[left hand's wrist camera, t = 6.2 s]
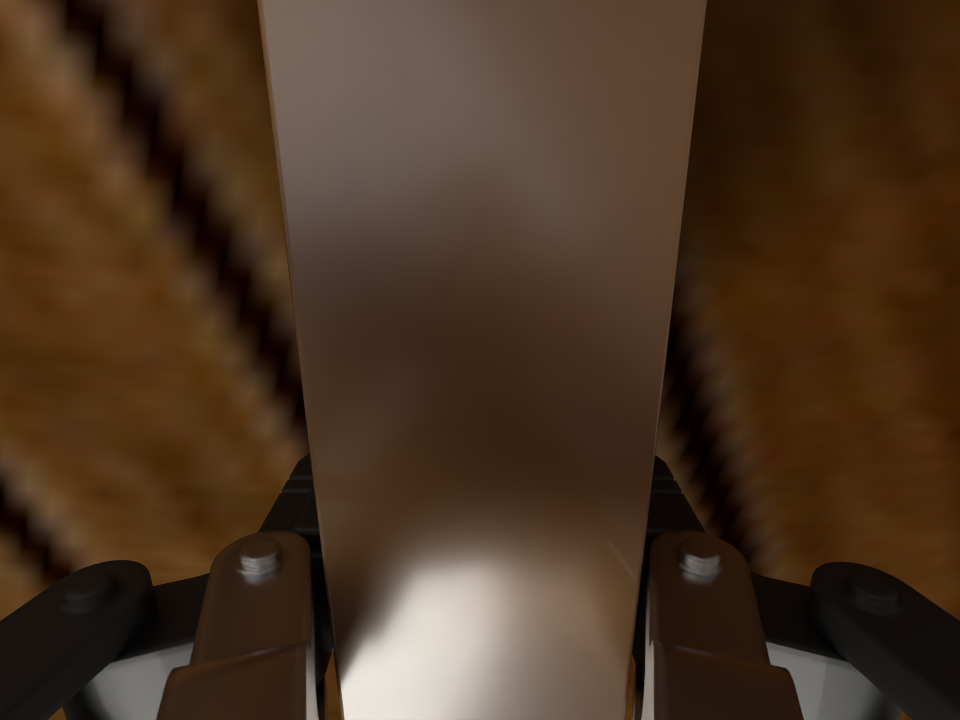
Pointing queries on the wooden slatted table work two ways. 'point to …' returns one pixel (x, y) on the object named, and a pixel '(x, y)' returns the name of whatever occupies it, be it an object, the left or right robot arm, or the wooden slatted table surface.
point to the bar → (482, 332)
